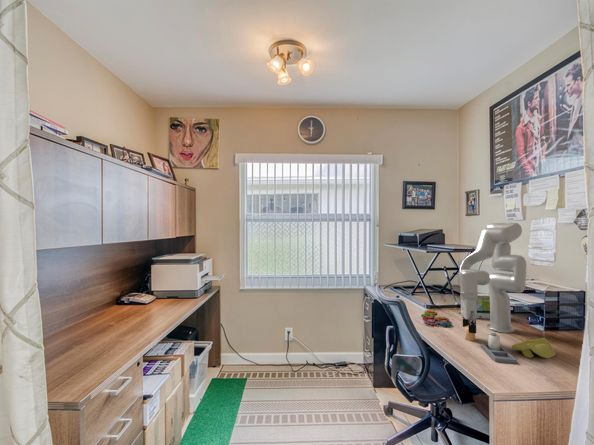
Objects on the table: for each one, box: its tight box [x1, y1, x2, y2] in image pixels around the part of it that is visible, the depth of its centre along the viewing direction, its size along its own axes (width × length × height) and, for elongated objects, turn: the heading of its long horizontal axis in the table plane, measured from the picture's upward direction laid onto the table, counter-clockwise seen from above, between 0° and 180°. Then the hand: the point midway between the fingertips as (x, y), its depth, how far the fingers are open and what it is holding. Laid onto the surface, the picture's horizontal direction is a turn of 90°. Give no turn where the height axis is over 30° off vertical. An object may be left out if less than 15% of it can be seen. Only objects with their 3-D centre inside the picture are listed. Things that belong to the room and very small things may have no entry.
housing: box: [480, 343, 518, 364], centre depth 130 cm, size 16×9×2 cm, turn 166°
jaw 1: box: [464, 325, 476, 342], centre depth 148 cm, size 4×4×8 cm
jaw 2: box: [487, 332, 501, 351], centre depth 134 cm, size 4×4×8 cm
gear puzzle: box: [420, 309, 455, 329], centre depth 184 cm, size 31×16×4 cm, turn 163°
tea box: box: [476, 292, 490, 320], centre depth 188 cm, size 15×10×15 cm, turn 83°
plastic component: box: [510, 337, 557, 359], centre depth 131 cm, size 20×7×10 cm
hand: (469, 329), depth 147 cm, fingers open, 9 cm apart
